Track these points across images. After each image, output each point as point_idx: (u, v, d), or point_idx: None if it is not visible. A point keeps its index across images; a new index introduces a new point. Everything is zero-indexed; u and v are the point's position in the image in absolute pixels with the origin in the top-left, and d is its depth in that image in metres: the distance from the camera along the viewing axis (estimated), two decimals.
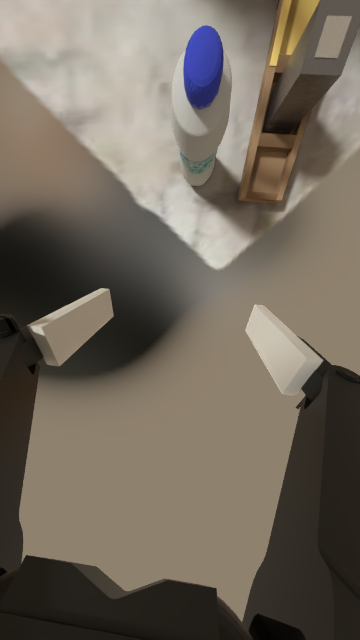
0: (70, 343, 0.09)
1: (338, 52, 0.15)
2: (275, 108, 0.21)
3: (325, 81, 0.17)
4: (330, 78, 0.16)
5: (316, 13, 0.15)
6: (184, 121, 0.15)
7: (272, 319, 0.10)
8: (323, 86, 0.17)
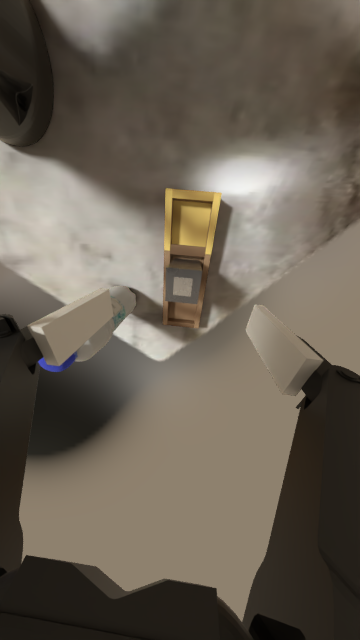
0: (70, 343, 0.09)
1: (190, 294, 0.19)
2: None
3: None
4: None
5: (166, 273, 0.18)
6: None
7: (272, 319, 0.10)
8: None
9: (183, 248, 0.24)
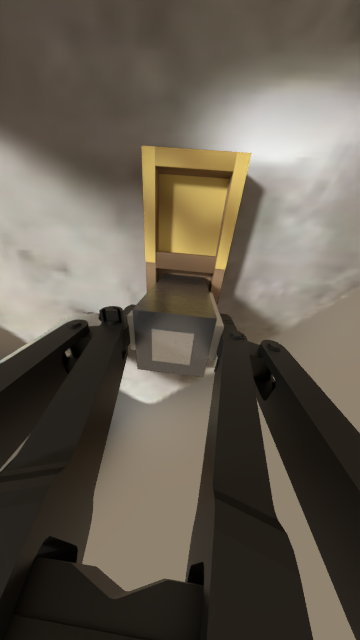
0: None
1: (188, 360, 0.09)
2: None
3: None
4: None
5: None
6: None
7: None
8: None
9: (178, 259, 0.14)
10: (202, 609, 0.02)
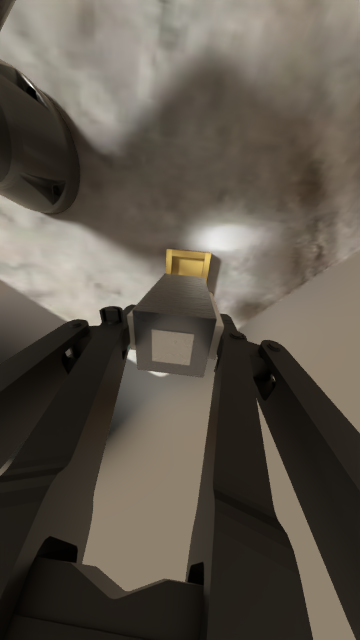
0: None
1: (188, 360, 0.09)
2: None
3: None
4: None
5: None
6: None
7: None
8: None
9: None
10: (202, 608, 0.02)
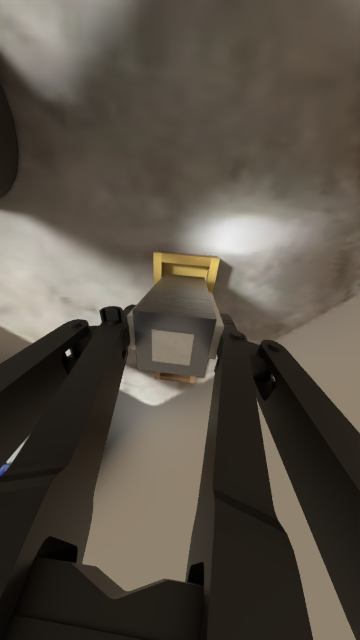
0: None
1: (188, 361, 0.09)
2: None
3: None
4: None
5: None
6: None
7: None
8: None
9: None
10: (202, 609, 0.02)
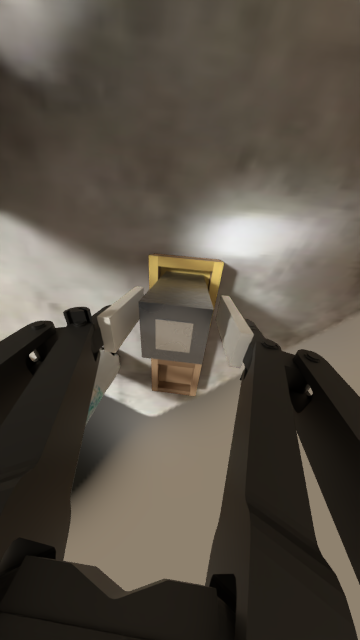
0: (121, 333, 0.10)
1: (188, 348, 0.10)
2: None
3: None
4: None
5: None
6: None
7: (229, 306, 0.11)
8: None
9: None
10: (235, 620, 0.02)
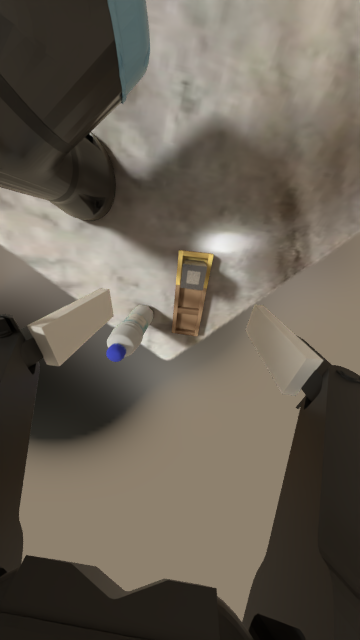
0: (70, 343, 0.09)
1: (198, 282, 0.28)
2: None
3: None
4: None
5: (182, 267, 0.27)
6: None
7: (272, 319, 0.10)
8: None
9: None
10: None
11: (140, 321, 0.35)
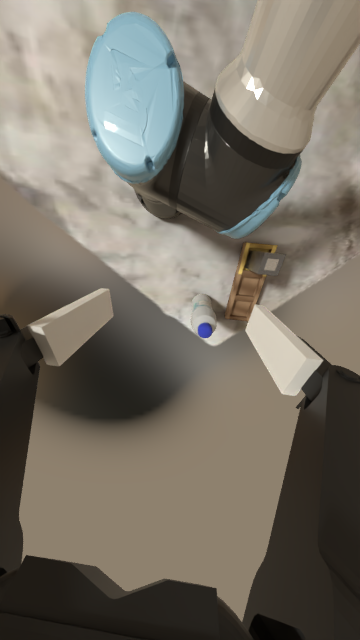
0: (70, 343, 0.09)
1: (274, 269, 0.32)
2: (249, 266, 0.38)
3: (271, 274, 0.34)
4: None
5: (263, 256, 0.32)
6: (197, 332, 0.35)
7: (272, 319, 0.10)
8: None
9: (249, 273, 0.41)
10: None
11: (210, 306, 0.40)
